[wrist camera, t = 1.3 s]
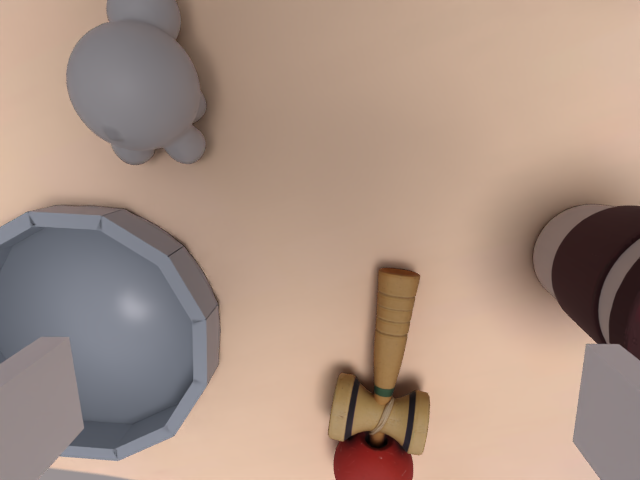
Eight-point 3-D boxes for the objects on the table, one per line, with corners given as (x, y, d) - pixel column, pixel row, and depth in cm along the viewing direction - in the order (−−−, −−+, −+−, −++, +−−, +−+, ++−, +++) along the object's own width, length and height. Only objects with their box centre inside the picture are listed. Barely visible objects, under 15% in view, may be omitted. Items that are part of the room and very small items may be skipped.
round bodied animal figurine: (228, 18, 32) (193, -87, 24) (212, 176, 30) (168, 123, 22) (131, 14, 32) (61, -92, 24) (109, 171, 30) (25, 116, 22)
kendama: (334, 259, 34) (311, 476, 36) (352, 273, 28) (323, 536, 30) (428, 267, 35) (402, 477, 37) (465, 282, 29) (431, 534, 31)
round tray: (-28, 199, 33) (-72, 205, 30) (220, 212, 32) (205, 221, 29) (1, 420, 37) (-35, 449, 34) (221, 436, 37) (208, 467, 33)
